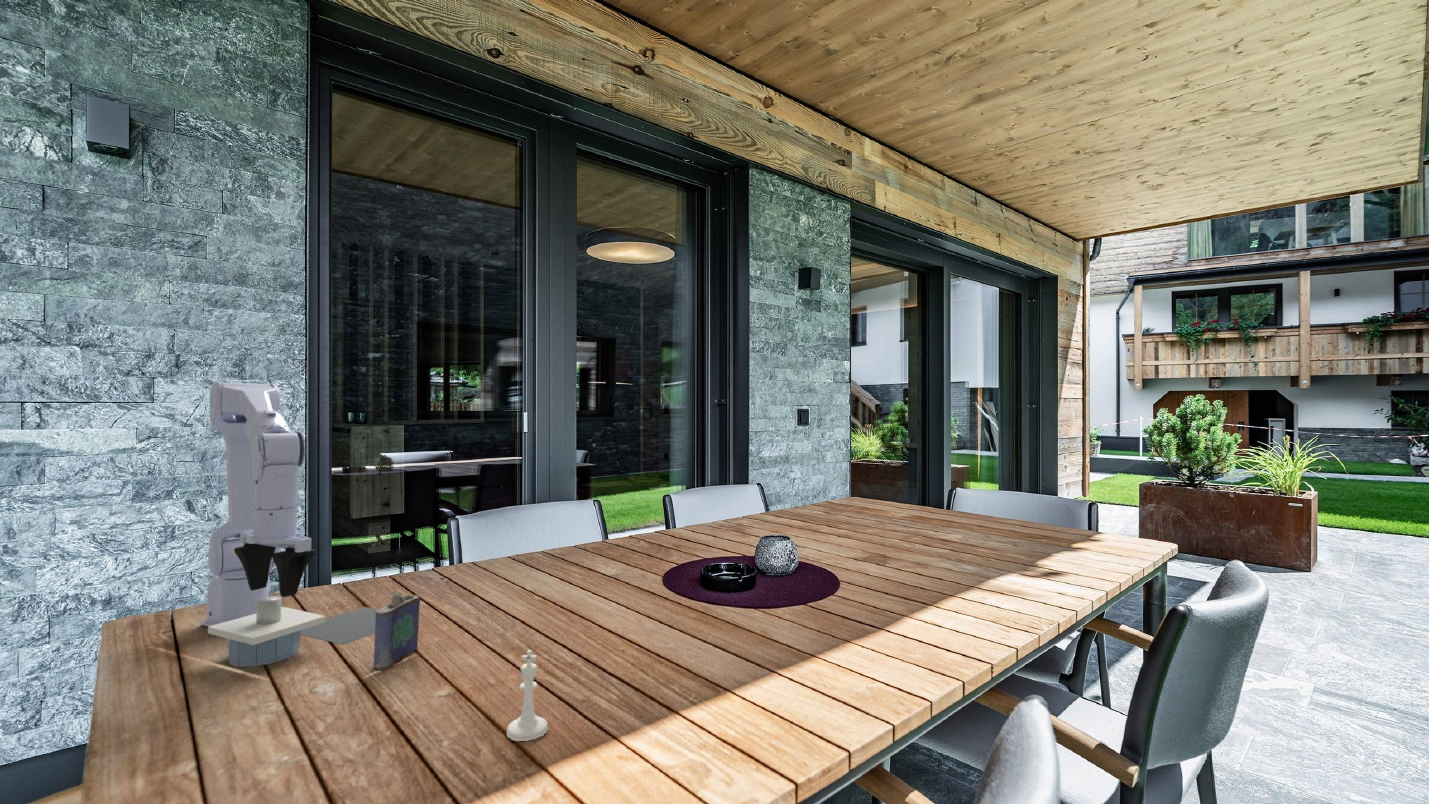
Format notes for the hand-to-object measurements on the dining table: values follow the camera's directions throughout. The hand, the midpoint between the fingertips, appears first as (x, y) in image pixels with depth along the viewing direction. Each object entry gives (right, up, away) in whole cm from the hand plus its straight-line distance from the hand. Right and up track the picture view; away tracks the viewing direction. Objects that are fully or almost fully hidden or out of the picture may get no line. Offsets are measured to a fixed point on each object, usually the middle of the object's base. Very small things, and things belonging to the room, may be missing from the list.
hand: (273, 592), depth 99 cm
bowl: (0, -10, -1) cm, 10 cm away
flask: (+20, -11, -1) cm, 23 cm away
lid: (0, -5, -1) cm, 5 cm away
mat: (+6, -10, +13) cm, 17 cm away
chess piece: (+48, -11, -22) cm, 53 cm away
